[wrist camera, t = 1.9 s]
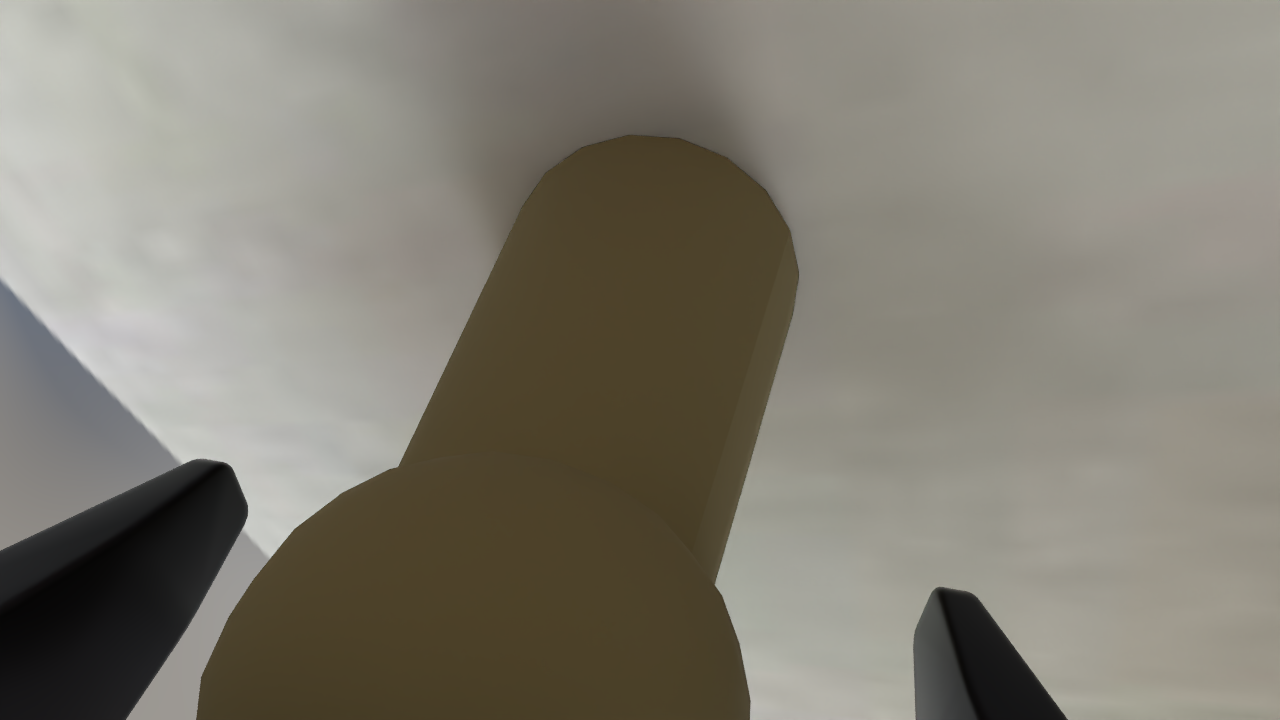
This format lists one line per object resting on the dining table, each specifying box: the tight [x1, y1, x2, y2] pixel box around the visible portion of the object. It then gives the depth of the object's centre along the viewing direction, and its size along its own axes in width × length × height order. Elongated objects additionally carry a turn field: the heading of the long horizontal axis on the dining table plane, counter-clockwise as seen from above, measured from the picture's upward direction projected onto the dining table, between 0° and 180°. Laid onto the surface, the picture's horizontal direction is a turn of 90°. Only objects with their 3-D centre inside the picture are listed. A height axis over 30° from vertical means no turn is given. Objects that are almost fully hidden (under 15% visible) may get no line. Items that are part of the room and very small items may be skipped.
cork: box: [196, 135, 799, 720], centre depth 10 cm, size 6×6×11 cm
